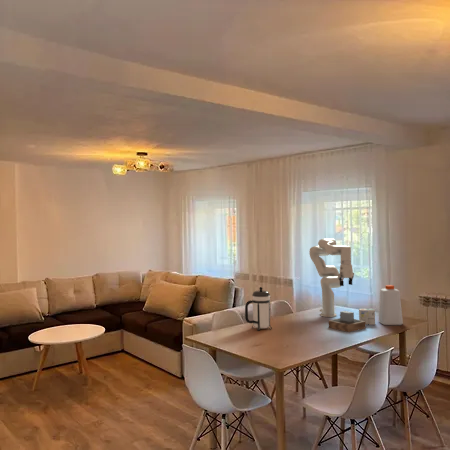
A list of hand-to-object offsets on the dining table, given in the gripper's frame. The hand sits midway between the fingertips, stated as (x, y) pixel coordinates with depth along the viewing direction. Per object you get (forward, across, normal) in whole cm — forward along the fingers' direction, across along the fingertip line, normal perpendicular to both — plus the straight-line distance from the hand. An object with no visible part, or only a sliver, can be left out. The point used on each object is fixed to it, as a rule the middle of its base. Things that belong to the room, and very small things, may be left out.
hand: (346, 285), depth 334 cm
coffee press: (+28, -64, +23) cm, 74 cm away
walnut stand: (+28, -14, -12) cm, 33 cm away
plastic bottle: (+28, +22, -22) cm, 42 cm away
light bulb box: (+28, +8, -12) cm, 32 cm away
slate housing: (+22, -14, -12) cm, 29 cm away
